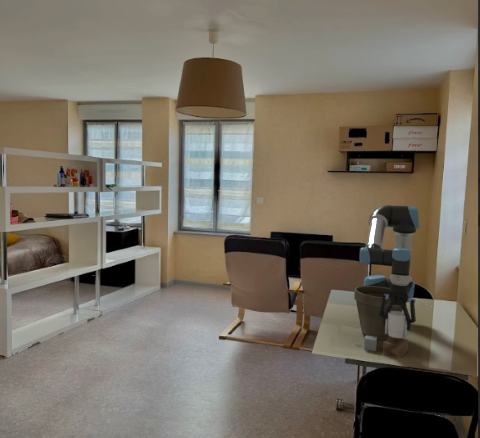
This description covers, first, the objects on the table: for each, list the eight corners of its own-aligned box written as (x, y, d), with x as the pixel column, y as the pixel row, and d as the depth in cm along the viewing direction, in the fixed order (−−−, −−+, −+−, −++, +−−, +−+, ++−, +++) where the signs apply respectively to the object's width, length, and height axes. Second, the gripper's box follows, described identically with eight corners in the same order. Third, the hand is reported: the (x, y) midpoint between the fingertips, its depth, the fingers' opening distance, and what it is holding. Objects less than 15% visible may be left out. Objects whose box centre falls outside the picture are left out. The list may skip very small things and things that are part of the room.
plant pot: (415, 339, 211) (418, 295, 209) (379, 346, 199) (382, 299, 197) (376, 324, 233) (378, 284, 231) (341, 330, 220) (343, 287, 219)
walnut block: (382, 353, 190) (383, 342, 189) (390, 346, 199) (390, 336, 198) (400, 357, 185) (400, 346, 185) (407, 350, 194) (407, 339, 194)
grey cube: (364, 349, 194) (364, 338, 194) (365, 346, 199) (365, 335, 198) (375, 351, 192) (376, 340, 192) (376, 347, 197) (377, 337, 197)
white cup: (393, 339, 187) (395, 316, 186) (383, 333, 194) (384, 311, 194) (409, 338, 189) (411, 315, 188) (398, 332, 196) (399, 310, 196)
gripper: (373, 281, 193) (370, 331, 194) (422, 289, 181) (418, 342, 182) (379, 279, 199) (375, 328, 201) (426, 286, 187) (422, 338, 189)
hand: (396, 335), depth 191 cm, fingers closed on white cup, 8 cm apart
